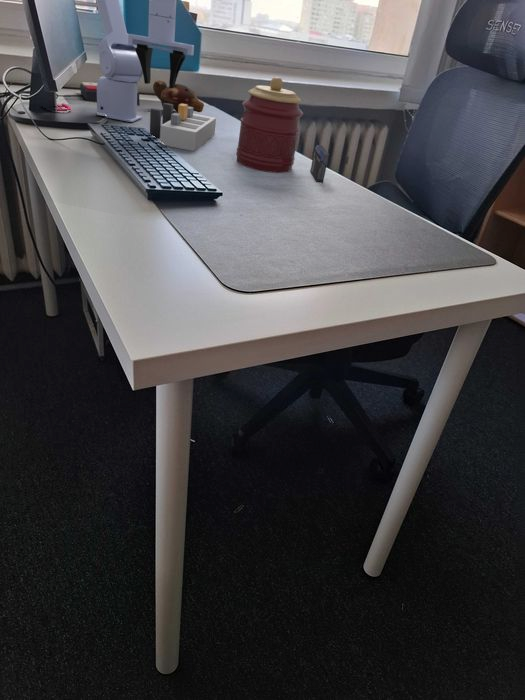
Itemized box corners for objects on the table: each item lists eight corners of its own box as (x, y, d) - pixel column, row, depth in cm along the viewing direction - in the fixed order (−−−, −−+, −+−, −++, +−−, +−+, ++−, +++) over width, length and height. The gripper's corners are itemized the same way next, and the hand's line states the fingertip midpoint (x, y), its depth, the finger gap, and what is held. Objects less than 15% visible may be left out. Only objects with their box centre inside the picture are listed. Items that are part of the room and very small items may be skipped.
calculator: (79, 80, 150) (130, 83, 156) (80, 96, 153) (131, 98, 159) (85, 87, 142) (139, 90, 148) (87, 104, 145) (139, 106, 151)
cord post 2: (160, 130, 127) (162, 103, 124) (163, 128, 129) (164, 102, 126) (170, 131, 127) (171, 105, 124) (172, 130, 129) (174, 104, 126)
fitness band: (75, 115, 128) (75, 108, 127) (52, 114, 124) (51, 108, 124) (61, 108, 133) (61, 101, 132) (38, 107, 129) (38, 100, 128)
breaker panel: (159, 144, 115) (161, 115, 112) (184, 128, 133) (186, 103, 130) (194, 151, 115) (196, 122, 112) (214, 134, 133) (217, 109, 130)
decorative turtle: (153, 106, 153) (157, 76, 149) (203, 118, 155) (208, 90, 151) (147, 109, 145) (150, 78, 141) (199, 122, 146) (204, 92, 142)
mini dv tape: (310, 172, 116) (315, 144, 113) (316, 173, 116) (322, 145, 113) (316, 182, 109) (322, 153, 106) (322, 183, 109) (329, 154, 106)
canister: (225, 155, 116) (235, 68, 106) (275, 157, 122) (288, 75, 112) (251, 173, 107) (264, 79, 97) (303, 174, 113) (320, 86, 103)
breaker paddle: (177, 118, 121) (178, 104, 119) (180, 116, 123) (181, 103, 121) (183, 119, 121) (184, 106, 119) (187, 118, 123) (187, 104, 121)
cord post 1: (148, 137, 119) (149, 109, 116) (151, 135, 121) (152, 108, 118) (158, 139, 119) (159, 111, 116) (161, 137, 121) (162, 109, 118)
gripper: (123, 9, 108) (123, 81, 115) (190, 21, 108) (185, 92, 115) (134, 11, 114) (133, 78, 121) (197, 22, 114) (193, 89, 121)
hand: (159, 85), depth 119 cm, fingers open, 5 cm apart
